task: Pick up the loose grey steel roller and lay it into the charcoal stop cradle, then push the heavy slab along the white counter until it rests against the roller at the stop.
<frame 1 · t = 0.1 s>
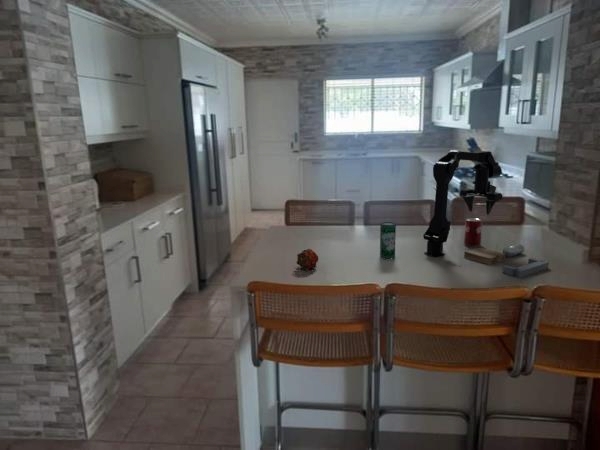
hand: (479, 212, 205), 15 cm above the kitchen island, fingers open, 9 cm apart
roller: (513, 255, 191), on the kitchen island
soda can: (472, 245, 207), on the kitchen island
slab: (484, 259, 187), on the kitchen island
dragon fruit: (307, 268, 182), on the kitchen island
can: (387, 257, 192), on the kitchen island
stop cradle: (530, 271, 170), on the kitchen island
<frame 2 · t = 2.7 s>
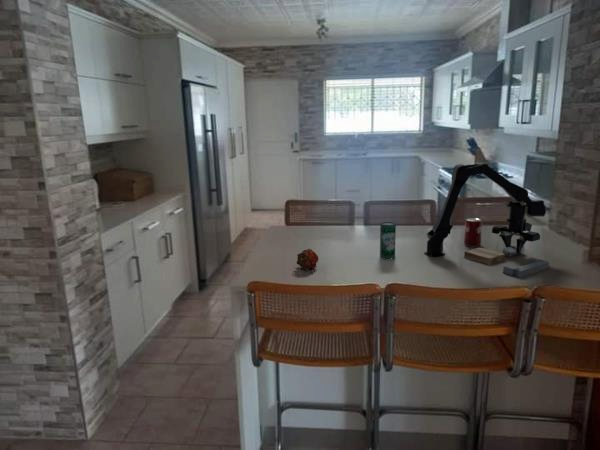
hand: (513, 252, 190), 1 cm above the kitchen island, fingers closed on roller, 4 cm apart
roller: (513, 254, 191), on the kitchen island, touching gripper
everything else where it was.
when the fingers open (3 cm above the kitchen island, at t = 6.4 s): roller drops 2 cm, on the kitchen island.
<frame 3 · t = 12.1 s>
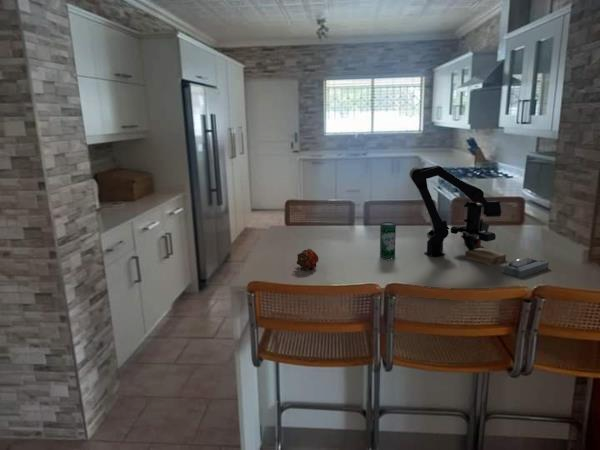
hand: (471, 252, 192), 1 cm above the kitchen island, fingers closed
roller: (518, 268, 174), on the kitchen island, tilted 19°
slab: (484, 259, 187), on the kitchen island, touching gripper
everything else where it was.
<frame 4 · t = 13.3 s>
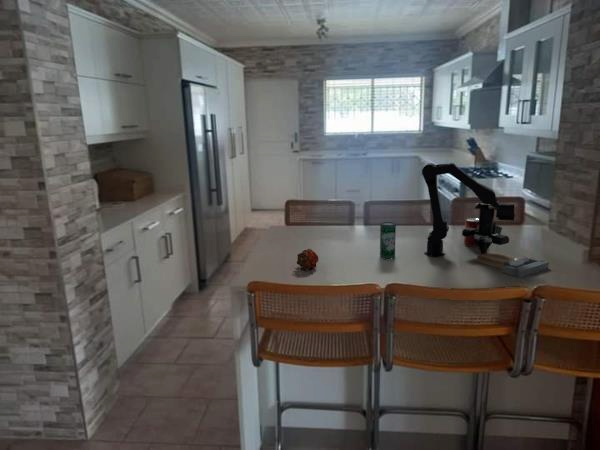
hand: (483, 255, 187), 1 cm above the kitchen island, fingers closed
roller: (518, 268, 174), on the kitchen island, tilted 13°
slab: (497, 263, 181), on the kitchen island, touching gripper
everything else where it was.
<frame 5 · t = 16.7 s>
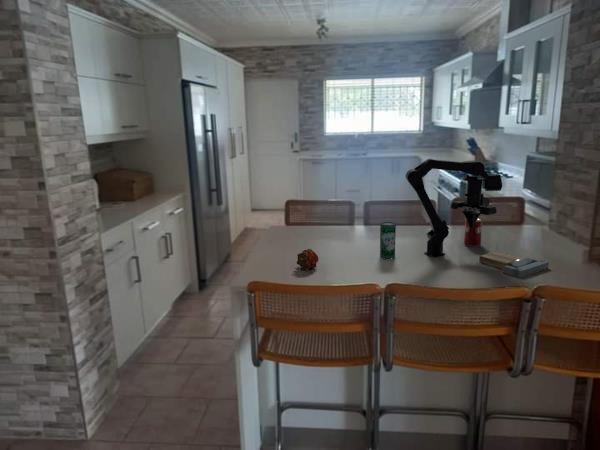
hand: (471, 227, 190), 12 cm above the kitchen island, fingers closed
roller: (518, 268, 174), on the kitchen island, tilted 23°
slab: (499, 264, 180), on the kitchen island
everything else where it was.
at the end: roller inside the target area (0.8 cm from its centre), on the kitchen island; slab inside the target area (0.5 cm from its centre), on the kitchen island; slab moved 7.6 cm from its start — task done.
